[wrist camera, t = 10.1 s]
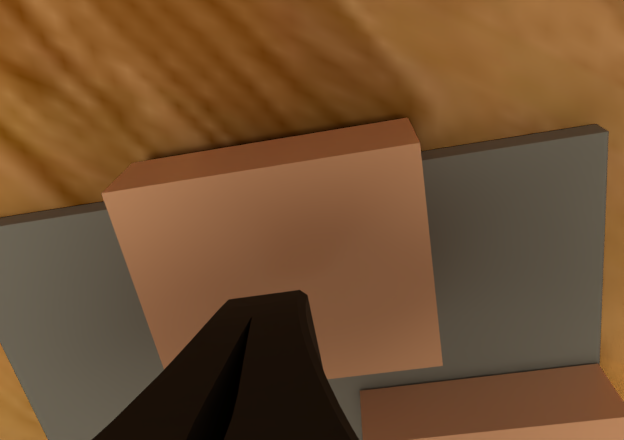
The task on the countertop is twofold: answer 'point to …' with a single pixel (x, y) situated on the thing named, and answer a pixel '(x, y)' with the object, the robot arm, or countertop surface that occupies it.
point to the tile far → (499, 408)
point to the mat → (456, 365)
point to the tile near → (289, 241)
